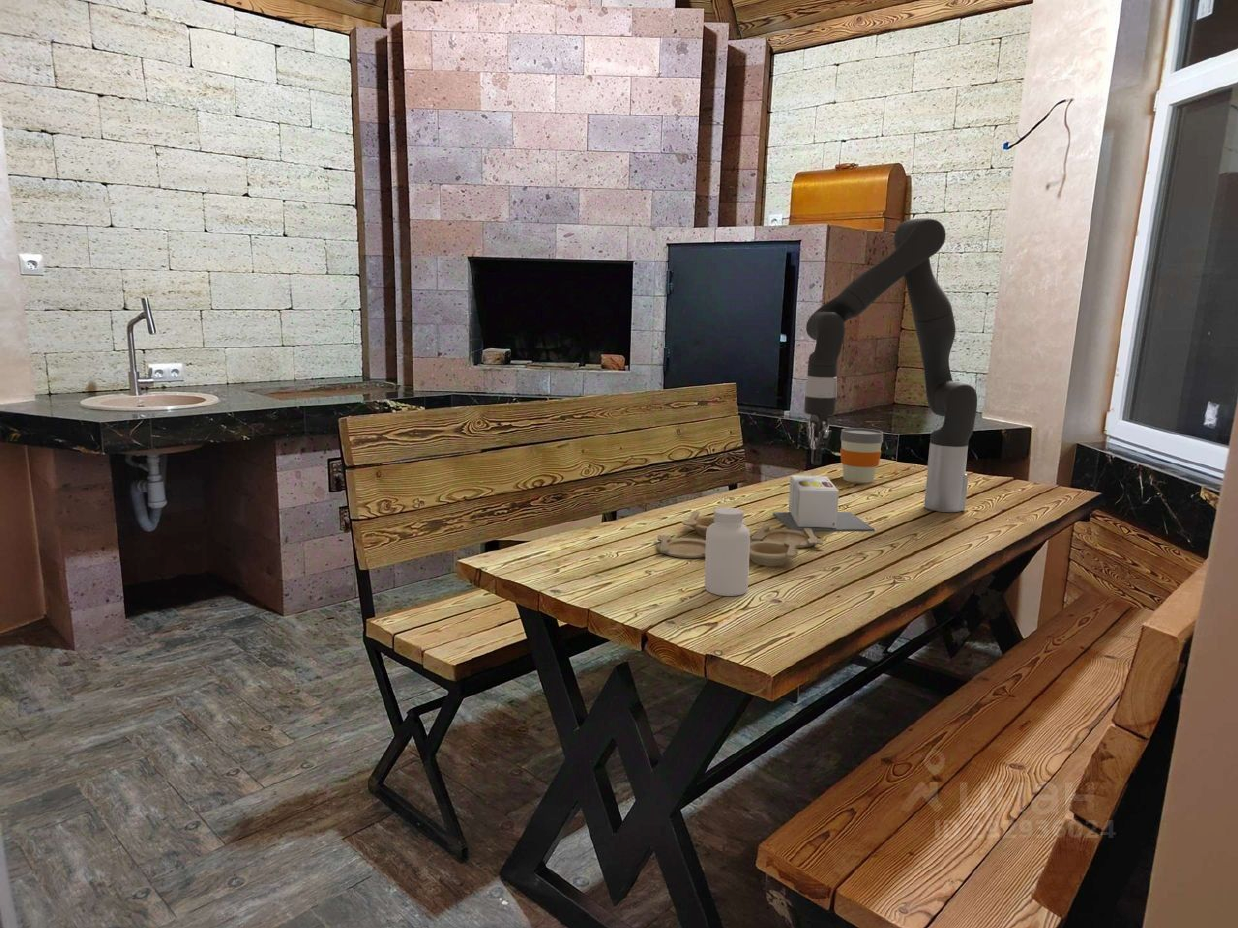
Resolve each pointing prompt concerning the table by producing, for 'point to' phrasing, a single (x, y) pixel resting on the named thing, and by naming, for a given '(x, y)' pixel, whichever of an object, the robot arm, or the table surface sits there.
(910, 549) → the table surface
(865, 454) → the reusable coffee cup
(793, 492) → the supplement box
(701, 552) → the tableware set
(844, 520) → the mat
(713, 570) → the pill bottle
